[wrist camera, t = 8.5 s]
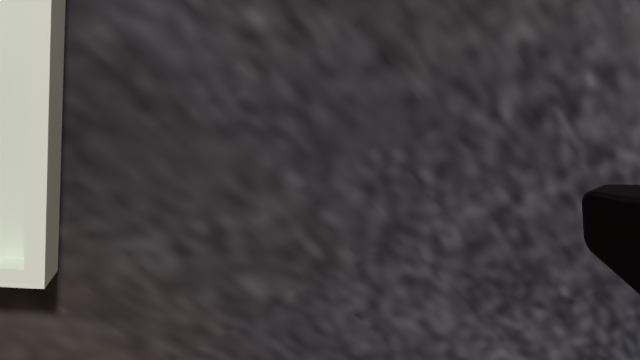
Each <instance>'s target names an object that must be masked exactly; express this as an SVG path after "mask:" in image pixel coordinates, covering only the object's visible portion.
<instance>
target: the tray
mask: <svg viewBox="0 0 640 360" xmlns="http://www.w3.org/2000/svg"><path fill="white" fill-rule="evenodd" d="M65 3H66V0H0V287H11V288H31V289H45V288H46V286H47V285H48V283H49V282H50V281H51V279H52V278H53V276H54V275H55V274H56V272H57V271H58V246H59V211H60V176H61V142H62V107H63V73H64V38H65Z"/></svg>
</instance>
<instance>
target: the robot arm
mask: <svg viewBox="0 0 640 360" xmlns="http://www.w3.org/2000/svg"><path fill="white" fill-rule="evenodd" d="M582 213H583V229H584V239H585V242H586V245H587V246H588V248H589V249H590V251H591V252H592V253H593V254H594V255H596V256H597V257H598V258H599V259H600V260H601V261H602V262H604V263H605V264H606V265H607V266H608V267H609V268H610V269H611V270H613V271H614V272H615V273H616V274H617V275H618V276H619V277H621V278H622V279H623V280H624V281H625V282H626V283H627V284H629V285H630V286H631V287H632V288H633V289H634V290H635V291H636V292H638V293H639V294H640V185H613V184H609V185H603V186H601V187H598V188H596V189H594V190H591V191H589V192H587V193H586V194H585V195H584V197H583V200H582Z"/></svg>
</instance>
